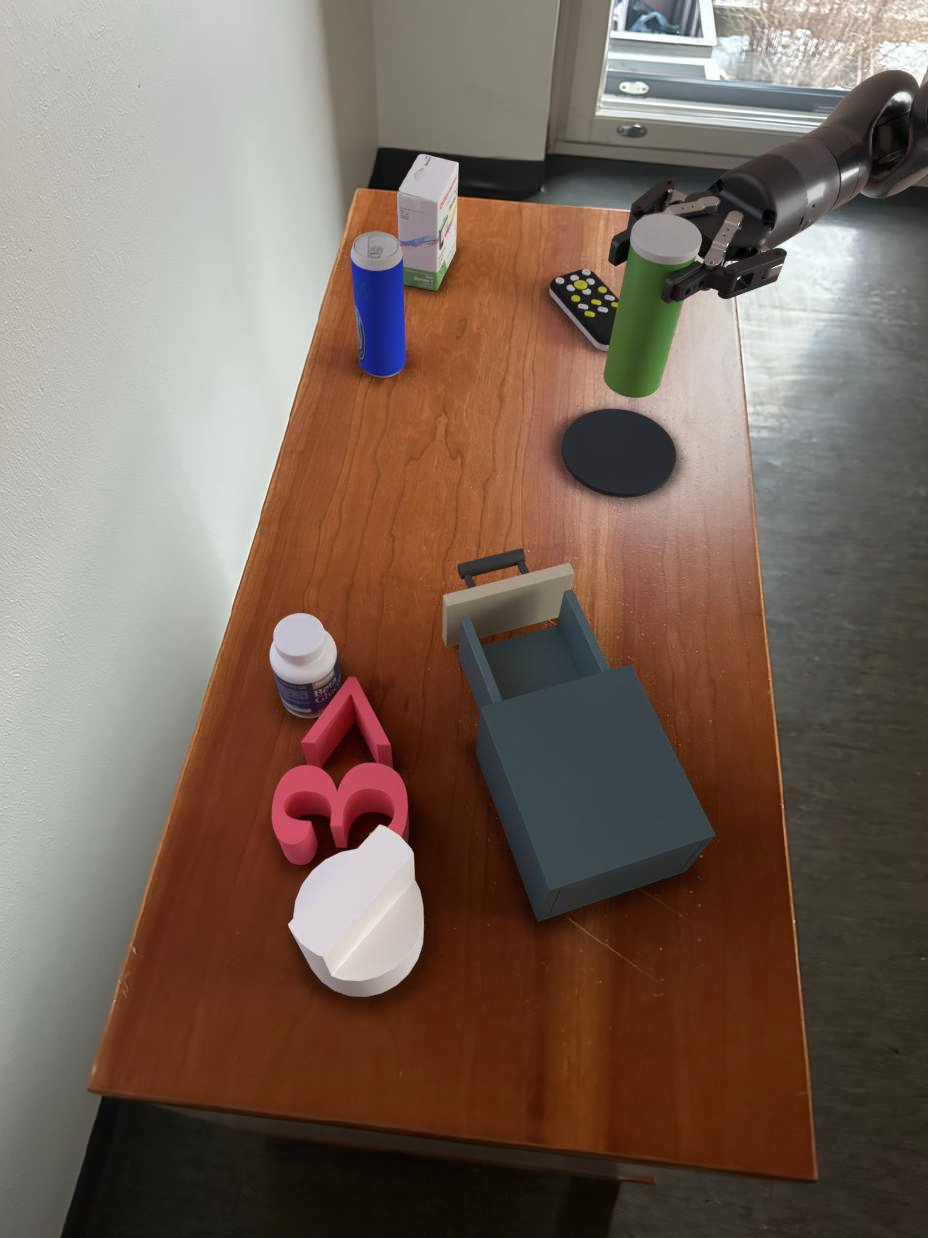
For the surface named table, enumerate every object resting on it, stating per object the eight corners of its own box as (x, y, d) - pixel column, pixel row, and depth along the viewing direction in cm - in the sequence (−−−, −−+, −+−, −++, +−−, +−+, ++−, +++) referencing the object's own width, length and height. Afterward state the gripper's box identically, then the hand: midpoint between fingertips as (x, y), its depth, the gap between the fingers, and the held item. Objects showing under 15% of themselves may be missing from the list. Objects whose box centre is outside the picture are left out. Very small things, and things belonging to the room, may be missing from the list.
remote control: (600, 356, 102) (603, 342, 100) (543, 291, 108) (545, 276, 106) (645, 340, 103) (649, 326, 102) (587, 277, 109) (589, 262, 108)
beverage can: (363, 346, 101) (354, 226, 89) (408, 350, 101) (405, 231, 89) (356, 378, 99) (345, 259, 86) (402, 382, 99) (398, 264, 86)
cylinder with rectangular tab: (361, 850, 70) (349, 793, 60) (448, 925, 68) (451, 879, 57) (278, 940, 67) (251, 896, 56) (367, 1025, 64) (355, 994, 54)
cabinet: (475, 753, 75) (480, 706, 68) (612, 712, 78) (631, 663, 70) (537, 922, 68) (550, 890, 61) (686, 871, 70) (715, 835, 63)
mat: (646, 402, 98) (647, 398, 98) (694, 482, 92) (696, 478, 92) (544, 425, 96) (544, 421, 95) (587, 508, 90) (588, 505, 89)
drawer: (428, 599, 82) (427, 555, 76) (543, 570, 84) (551, 525, 79) (491, 771, 73) (497, 736, 68) (618, 732, 76) (634, 695, 70)
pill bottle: (327, 729, 76) (314, 673, 68) (270, 708, 77) (251, 651, 69) (353, 676, 79) (344, 617, 70) (298, 657, 80) (282, 596, 71)
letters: (300, 702, 77) (292, 674, 73) (417, 707, 77) (416, 679, 73) (276, 864, 70) (266, 843, 65) (406, 869, 70) (404, 849, 65)
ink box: (437, 292, 107) (438, 201, 97) (398, 284, 108) (395, 192, 98) (457, 250, 111) (460, 158, 101) (419, 242, 112) (418, 150, 102)
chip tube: (665, 363, 85) (706, 220, 72) (656, 404, 82) (697, 262, 69) (608, 352, 86) (637, 207, 73) (597, 391, 83) (626, 248, 70)
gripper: (723, 119, 78) (583, 187, 72) (856, 196, 72) (717, 278, 66) (701, 199, 84) (571, 268, 78) (822, 276, 79) (692, 357, 73)
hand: (639, 272), depth 72 cm, fingers closed on chip tube, 5 cm apart
